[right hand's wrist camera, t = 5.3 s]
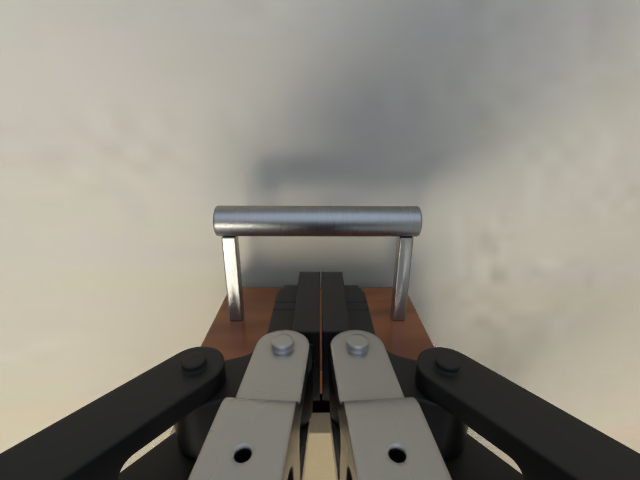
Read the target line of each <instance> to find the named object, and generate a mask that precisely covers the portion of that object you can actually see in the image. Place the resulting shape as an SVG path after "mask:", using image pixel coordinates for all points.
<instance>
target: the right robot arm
mask: <svg viewBox="0 0 640 480" xmlns="http://www.w3.org/2000/svg"><path fill="white" fill-rule="evenodd" d="M313 400H320V272H300V274H299V281H298V286H284V287H283V288H282V289H281V290H279V291H278V292H277V295H276V299H275V303H274V307H273V311H272V315H271V320H270V324H269V328H268V332H267V334H266V335H265V336H263V337H262V338H261V339H260V340H259V341H258V342H257V344H256V347H255V349H254V352H252V353H250V354H248V355H245V356H242V357H238V358H234V359H230V360H225V361H224V356H223V354H222V353H221V352H220V351H219V350H217V349H215V348H212V347H195V348H190V349H187V350H184V351H182V352H180V353H178V354H176V355H175V356H173V357H171V358H169V359H168V360H166V361H164V362H162V363H160V364H159V365H157V366H155V367H153V368H152V369H150V370H148V371H146V372H145V373H143V374H141V375H139V376H137V377H136V378H134V379H132V380H130V381H129V382H127V383H125V384H123V385H121V386H120V387H118V388H116V389H114V390H113V391H111V392H109V393H107V394H105V395H104V396H102V397H100V398H98V399H97V400H95V401H93V402H91V403H90V404H88V405H86V406H84V407H82V408H81V409H79V410H77V411H75V412H74V413H72V414H70V415H68V416H66V417H65V418H63V419H61V420H59V421H58V422H56V423H54V424H52V425H51V426H49V427H47V428H45V429H43V430H42V431H40V432H38V433H36V434H35V435H33V436H31V437H29V438H27V439H26V440H24V441H22V442H20V443H19V444H17V445H15V446H13V447H11V448H10V449H8V450H6V451H4V452H3V453H1V454H0V480H304V475H305V467H306V458H307V450H308V441H309V433H310V418H311V416H312V411H313ZM322 400H330V433H331V441H332V450H333V458H334V467H335V475H336V480H640V454H639V453H637V452H636V451H634V450H632V449H630V448H629V447H627V446H625V445H623V444H621V443H620V442H618V441H616V440H614V439H613V438H611V437H609V436H607V435H605V434H604V433H602V432H600V431H598V430H597V429H595V428H593V427H591V426H589V425H588V424H586V423H584V422H582V421H581V420H579V419H577V418H575V417H574V416H572V415H570V414H568V413H566V412H565V411H563V410H561V409H559V408H558V407H556V406H554V405H552V404H550V403H549V402H547V401H545V400H543V399H542V398H540V397H538V396H536V395H535V394H533V393H531V392H529V391H527V390H526V389H524V388H522V387H520V386H519V385H517V384H515V383H513V382H511V381H510V380H508V379H506V378H504V377H503V376H501V375H499V374H497V373H496V372H494V371H492V370H490V369H488V368H487V367H485V366H483V365H481V364H480V363H478V362H476V361H474V360H472V359H471V358H469V357H467V356H465V355H464V354H462V353H460V352H457V351H455V350H452V349H448V348H441V347H434V348H429V349H426V350H424V351H422V352H421V353H420V354H419V356H418V358H417V360H414V359H409V358H405V357H401V356H397V355H395V354H392V353H390V352H389V351H387V350H386V349H385V347H384V344H383V342H382V341H381V340H380V339H379V338H378V337H377V336H376V335H375V331H374V327H373V323H372V319H371V315H370V311H369V307H368V303H367V299H366V295H365V292H363V291H362V290H361V289H360V288H359V287H358V286H344V282H343V275H342V272H322ZM173 425H174V427H175V432H174V433H173V434H172V435H170V436H169V437H168V438H166V439H165V440H164V441H162V442H161V443H160V444H158V445H157V446H156V447H154V448H153V449H151V450H150V451H149V452H147V453H146V454H145V455H143V456H142V457H141V458H139V459H138V460H137V461H135V462H134V463H133V464H131V465H130V466H129V467H127V468H126V469H125V470H123V471H122V472H120V470H121V468H122V467H123V465H124V464H125V462H126V461H127V460H128V459H129V458H130V457H131V456H132V455H133V454H134V453H136V452H137V451H139V450H140V449H141V448H143V447H144V446H145V445H147V444H148V443H150V442H151V441H152V440H154V439H155V438H157V437H158V436H159V435H161V434H162V433H163V432H165V431H166V430H168V429H169V428H170V427H172V426H173ZM468 427H470V428H471V429H472V430H474V431H475V432H477V433H478V434H479V435H481V436H482V437H483V438H485V439H486V440H488V441H489V442H490V443H492V444H493V445H495V446H496V447H497V448H499V449H500V450H501V451H503V452H504V453H506V454H507V455H508V456H509V457H511V458H512V459H513V460H514V461H515V462H516V464H517V465H518V466H519V468H520V470H521V472H522V474H523V475H522V474H521V473H520V472H518V471H517V470H515V469H514V468H513V467H511V466H510V465H509V464H507V463H506V462H505V461H503V460H502V459H501V458H499V457H498V456H497V455H495V454H494V453H493V452H491V451H490V450H489V449H487V448H486V447H484V446H483V445H482V444H480V443H479V442H478V441H476V440H475V439H474V438H472V437H471V436H470V435H468V434H467V430H468Z"/></svg>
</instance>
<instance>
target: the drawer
mask: <svg viewBox="0 0 640 480" xmlns="http://www.w3.org/2000/svg"><path fill="white" fill-rule="evenodd" d="M213 227H214V231H215V234H216V235H217V236H223V237H222V246H223V256H224V266H225V276H226V286H227V296H226V298H225V300H224V302H223V304H222V305H221V307H220V309H219V311H218V313H217V315H216V317H215V319H214V321H213V323H212V325H211V327H210V329H209V331H208V333H207V335H206V337H205V339H204V341H203V343H202V345H201V347H212V348H215V349H217V350H219V351H220V352H221V353H222V354H223V356H224V361H225V360H230V359H234V358H238V357H242V356H245V355H248V354H250V353H252V352H254V349H255V347H256V344H257V342H258V341H259V340H260V339H261V338H262V337H263V336H265V335H266V334H267V332H268V328H269V324H270V320H271V315H272V311H273V307H274V303H275V299H276V295H277V292H278V291H279V290H281V289H282V288H242V278H241V266H240V254H239V242H238V236H397V244H396V256H395V267H394V279H393V288H360V289H361V290H362V291H363V292H365V295H366V299H367V303H368V307H369V311H370V315H371V319H372V323H373V327H374V331H375V335H376V336H377V337H378V338H379V339H380V340H381V341H382V342H383V344H384V347H385V349H386V350H387V351H389V352H390V353H392V354H395V355H397V356H401V357H405V358H409V359H414V360H417V358H418V356H419V354H420V353H421V352H422V351H424V350H426V349H429V348H434V346H433V344H432V342H431V340H430V338H429V336H428V334H427V332H426V330H425V328H424V326H423V324H422V322H421V320H420V318H419V316H418V314H417V312H416V310H415V308H414V306H413V304H412V302H411V300H410V298H409V296H408V285H409V276H410V266H411V256H412V247H413V237H412V236H418V235H419V234H420V232H421V228H422V214H421V210H420V208H419V207H417V206H217V207H216V208H215V210H214V214H213ZM312 413H330V400H322V288H320V400H313V411H312Z"/></svg>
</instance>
